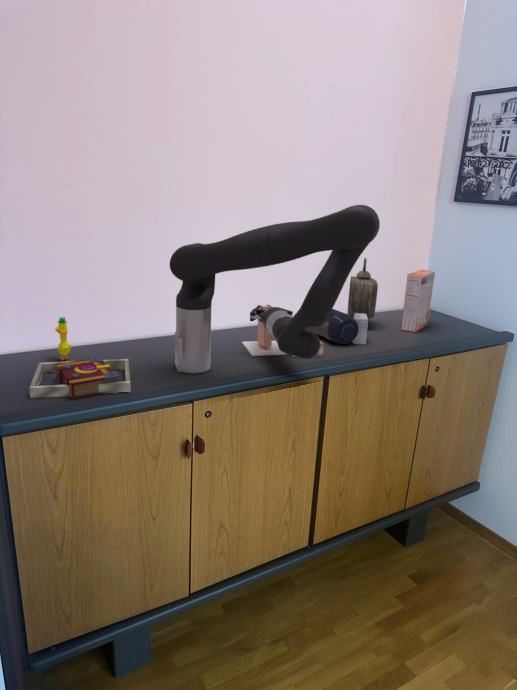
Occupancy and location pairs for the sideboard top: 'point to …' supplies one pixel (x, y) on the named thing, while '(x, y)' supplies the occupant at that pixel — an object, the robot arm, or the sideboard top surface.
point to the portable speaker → (338, 328)
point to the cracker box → (417, 300)
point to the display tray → (63, 390)
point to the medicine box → (361, 328)
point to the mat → (262, 348)
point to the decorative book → (85, 376)
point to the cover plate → (263, 333)
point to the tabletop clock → (362, 294)
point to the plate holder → (319, 350)
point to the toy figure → (63, 338)
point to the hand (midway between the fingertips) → (263, 308)
